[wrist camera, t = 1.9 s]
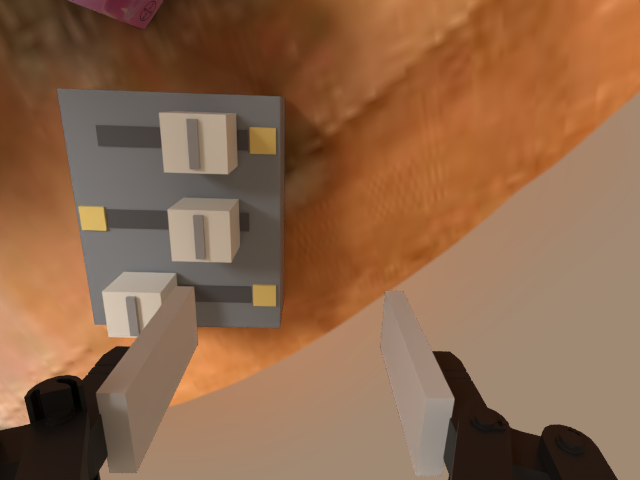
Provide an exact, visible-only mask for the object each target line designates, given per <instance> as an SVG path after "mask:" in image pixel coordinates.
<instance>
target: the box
mask: <svg viewBox="0 0 640 480" xmlns="http://www.w3.org/2000/svg"><path fill="white" fill-rule="evenodd" d="M68 1H70V2H73V3H75V4H78V5H81V6H83V7H86V8H88V9H91V10H93V11H96V12H98V13H101V14H103V15H106V16H109V17H111V18H114V19H116V20H119V21H122V22H124V23H127V24H130V25H132V26H135V27H138V28H140V29H143V30H145V28H146V27H147V25H148V24H149V22H150V21H151V19H152V18H153V16H154V15H155V13H156V12H157V10H158V9H159V7H160V6H161V4H162V2H163V1H164V0H68Z"/></svg>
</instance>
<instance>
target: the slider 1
mask: <svg viewBox="0 0 640 480" xmlns="http://www.w3.org/2000/svg"><path fill="white" fill-rule="evenodd" d="M175 286H177V276H176V273H154V272H123V273H122V274H121V275H120V276H119V277H118V278H117V279H115V280H114V281H113V282H112V283H111V284H110V285H109V286H108V287H107V288H105V289H104V290H103V291H102V296H103V303H104V309H105V316H106V323H107V329H108V336H109V337H130V338H137V337H138V336H139V334H140V333H141V332H142V330H143V329H144V328H145V326H146V325H147V324H148V322H149V321H150V320H151V318H152V317H153V316H154V314H155V313H156V312H157V310H158V309H159V308H160V306H161V305H162V304H163V302H164V301H165V300H166V298H167V297H168V296H169V294H170V293H171V292H172V290H173V289H174V288H175Z"/></svg>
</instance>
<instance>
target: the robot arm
mask: <svg viewBox="0 0 640 480" xmlns="http://www.w3.org/2000/svg"><path fill="white" fill-rule="evenodd" d="M197 345H198V334H197V320H196V306H195V293H194V286H175V288H174V289H173V290H172V292H171V293H170V294H169V296H168V297H167V298H166V300H165V301H164V302H163V304H162V305H161V306H160V308H159V309H158V310H157V312H156V313H155V314H154V316H153V317H152V318H151V320H150V321H149V322H148V324H147V325H146V326H145V328H144V329H143V330H142V332H141V333H140V334H139V336H138V337H137V339H136V340H135V341H134V343H133V344H132V345H131V347H123V346H116V347H115V348H113V349H112V350H110V351H109V352H107V353H106V354H104V355H103V356H102V357H101V358H100V360H99V361H98V362H97V363H96V364H95V367H93V368H92V369H91V370H90V372H89V373H88V375H86V377H85V378H84V379H83V380H81V379H80V378H78V377H77V376H71V375H65V376H57V377H54V378H50V379H47V380H45V381H43V382H41V383H39V384H37V385H35V386H34V387H33V388H32V389H30V390H29V391H28V393H27V394H26V396H25V397H24V399H25V403H26V407H27V411H28V415H29V419H30V424H28V425H24V426H20V427H15V428H10V429H5V430H0V480H100V475H99V470H100V468H101V467H102V465H103V463H104V461H105V460H106V458H107V461H108V467H109V472H110V473H137V471H138V469H139V467H140V464H141V463H142V461H143V458H144V456H145V454H146V452H147V450H148V448H149V446H150V444H151V442H152V440H153V437H154V435H155V433H156V431H157V429H158V427H159V425H160V423H161V421H162V418H163V416H164V414H165V412H166V410H167V408H168V406H169V404H170V402H171V400H172V398H173V395H174V393H175V391H176V389H177V387H178V385H179V383H180V381H181V379H182V376H183V374H184V372H185V370H186V368H187V366H188V364H189V362H190V360H191V358H192V355H193V353H194V351H195V349H196V347H197ZM380 348H381V352H382V355H383V359H384V362H385V366H386V370H387V374H388V377H389V381H390V384H391V388H392V392H393V395H394V399H395V403H396V406H397V410H398V414H399V417H400V421H401V425H402V428H403V432H404V435H405V439H406V443H407V447H408V450H409V454H410V458H411V461H412V465H413V469H414V472H415V475H416V476H442V471H443V465H444V462H445V464H446V467H447V470H448V473H449V479H448V480H618V479H617V478H616V476H615V474H614V473H613V471H612V469H611V468H610V466H609V465H608V463H607V461H606V460H605V458H604V457H603V455H602V453H601V452H600V450H599V448H598V447H597V446H596V444H595V443H594V442H593V441H592V440H591V439H590V438H589V437H587V436H586V435H585V434H583V433H582V432H580V431H577V430H576V429H573V428H571V427H567V426H564V425H549V426H547V427H545V428H544V430H543V432H542V435H541V436H537V435H533V434H529V433H525V432H521V431H518V430H515V429H512V428H510V426H509V423H508V422H507V421H506V420H505V418H504V417H503V416H502V415H500V414H499V413H497V412H496V411H494V410H492V409H489V408H487V406H486V404H485V403H484V401H483V399H482V397H481V395H480V394H479V392H478V390H477V388H476V387H475V385H474V383H473V381H471V378H470V376H469V374H468V373H467V372H466V369H465V367H464V366H463V364H462V362H461V361H460V360H459V359H458V358H457V357H456V356H455V355H453V354H452V353H451V352H443V351H432V350H431V348H430V346H429V344H428V342H427V340H426V338H425V336H424V334H423V331H422V330H421V327H420V325H419V323H418V321H417V319H416V317H415V315H414V313H413V311H412V309H411V307H410V304H409V302H408V300H407V298H406V296H405V294H404V292H403V291H385V300H384V311H383V322H382V333H381V344H380Z"/></svg>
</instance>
